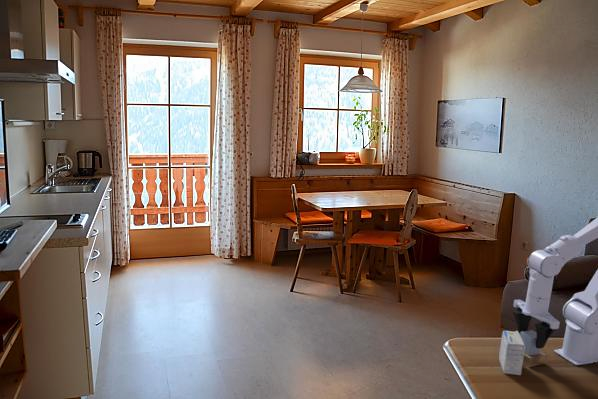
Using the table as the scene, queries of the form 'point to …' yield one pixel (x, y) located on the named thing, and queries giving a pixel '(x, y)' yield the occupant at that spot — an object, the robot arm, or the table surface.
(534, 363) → the tan square block
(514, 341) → the medicine box
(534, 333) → the slate block
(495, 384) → the table surface
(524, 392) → the table surface
